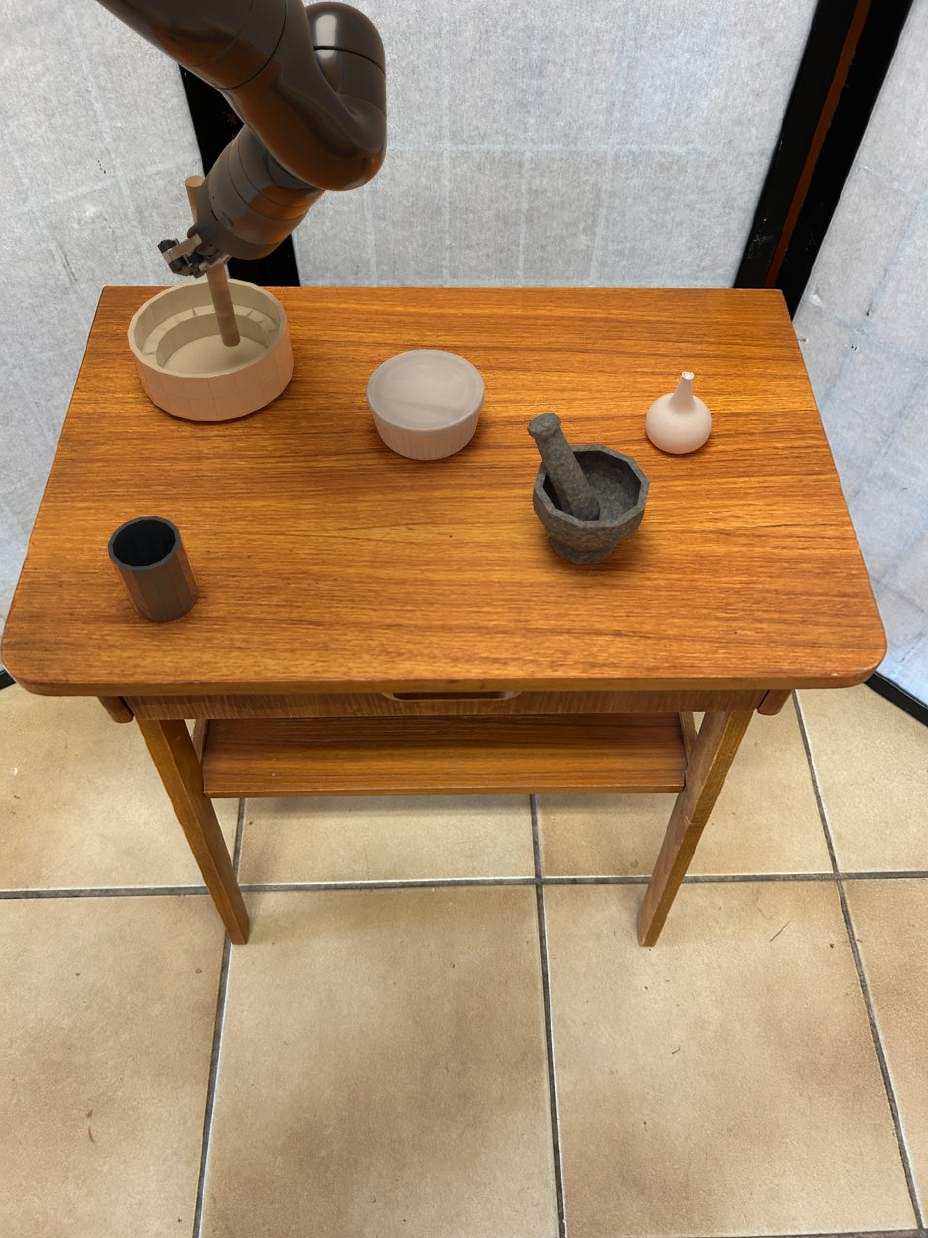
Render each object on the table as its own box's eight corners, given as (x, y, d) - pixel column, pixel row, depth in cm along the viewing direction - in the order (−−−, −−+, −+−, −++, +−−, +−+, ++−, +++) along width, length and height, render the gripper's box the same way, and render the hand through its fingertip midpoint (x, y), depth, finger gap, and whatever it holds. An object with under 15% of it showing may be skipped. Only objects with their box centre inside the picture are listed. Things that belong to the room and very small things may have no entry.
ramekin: (388, 482, 89) (385, 440, 85) (355, 404, 95) (351, 362, 91) (500, 454, 91) (502, 412, 87) (461, 380, 97) (462, 338, 93)
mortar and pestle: (655, 527, 86) (681, 428, 76) (608, 596, 81) (629, 501, 72) (546, 478, 90) (558, 378, 80) (495, 542, 85) (501, 444, 75)
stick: (224, 348, 96) (185, 187, 82) (221, 337, 97) (182, 176, 83) (241, 345, 96) (206, 184, 82) (238, 334, 97) (203, 173, 83)
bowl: (154, 439, 92) (137, 390, 87) (136, 342, 100) (120, 293, 96) (308, 407, 95) (300, 359, 90) (278, 315, 103) (270, 267, 98)
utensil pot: (136, 629, 79) (111, 577, 73) (128, 577, 82) (104, 524, 76) (203, 613, 80) (184, 561, 74) (193, 563, 83) (174, 508, 77)
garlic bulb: (716, 427, 94) (736, 362, 87) (694, 467, 91) (713, 402, 84) (656, 406, 96) (671, 340, 89) (633, 444, 92) (646, 379, 86)
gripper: (302, 119, 77) (241, 198, 92) (155, 180, 72) (116, 253, 87) (348, 208, 79) (282, 271, 95) (209, 273, 74) (162, 329, 89)
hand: (203, 262), depth 91 cm, fingers closed on stick, 2 cm apart
